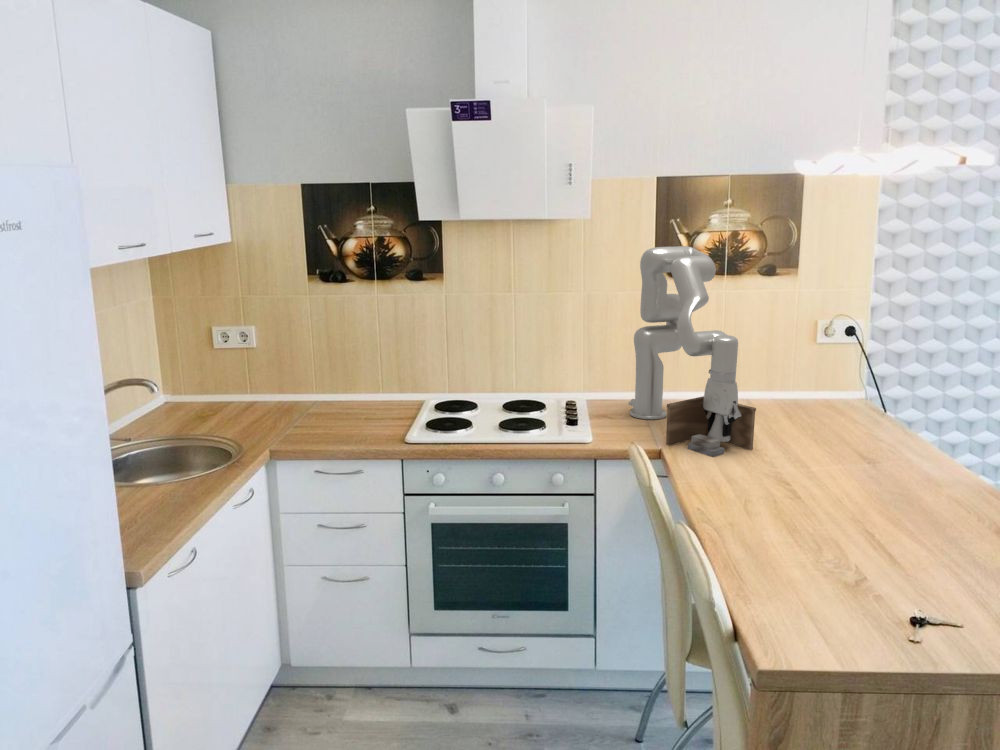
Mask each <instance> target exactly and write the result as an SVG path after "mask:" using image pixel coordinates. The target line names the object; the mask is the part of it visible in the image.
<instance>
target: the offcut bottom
mask: <svg viewBox="0 0 1000 750" xmlns="http://www.w3.org/2000/svg"><path fill="white" fill-rule="evenodd" d="M687 450H690V451H693V452H696V453H699V454H701V455H704V456H708V457H711V458H715V457H718V456H721V455H722V456H723V455H725V447H721V446H720V448H717V449H714V450H711V449H707V448H704V447H700V446H697V445H694V444H691V442H687Z"/></svg>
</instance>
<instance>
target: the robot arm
mask: <svg viewBox="0 0 1000 750" xmlns="http://www.w3.org/2000/svg"><path fill="white" fill-rule="evenodd" d="M640 257H641V258H640V261H639V262H640V264H639V268H640V275H641V292H640V293H641V294H640V311H639V312H640V317H641V320H642V321H644V322H645V323H650V324H651V323H652V324H653V323H654V324H655V323H656V324H657V323H666V324H661V325H658V324H657V325H646V326H642V327H640V328H639V329H637V330H635V333H634V335H633V345H634V352H635V386H634V387H635V388H634V390H635V392H634V393H635V394H634V398H632V399H631V400H629V401H628V405H629V406H632V409H630V411H629V414H630V416H631V417H633V418H637V419H640V420H658V419H659V420H660V419H664V418H667V411H666V410H664V409H663V395H664V392H663V390H664V362H663V361H662V359H661V357H660V356H659V354H662V353H663V354H664V353H673V352H676V351H679V350H680V349H681V348H682V349H683V351H684V352H685V354H687V355H688V356H689V357H703V356H711V359H710V369H708V374H709V375H710V376H709V378H707V381H706V384H705V389H704V395H703V396H704V401H703V403H702V404H701V407H702V408H703V410H704V412H705V414H706V415H707V416H706V417H707V419H708V430H707V431H708V432H709V431H710V429H711V427H712V425H713V422H714V420H715V416H716V413H717V414H720V415H724V420H725V424H723V437H726V436H730V435H731V429H732V423H734V421H736V420H737V419H738V418H740V417H741V413H740V412H739V410H738V404H739V389H738V383H737V382H736V378H737V366H738V364H737V363H738V353H739V351H738V350H739V341H738V338H737V337H736V336H733V335H728V334H727V333H725V332H724V331H722V330H715V329H714V330H703V331H695V330H694V327H693V323H692V314H693V313H694V312H696V311H698V310H699V309H701V308H703V307H704V306H706V304H708V302H709V300H710V297H709V294H708V292H707V289H706V286H705V283H707V282H710V281H713V279H714V278H715V277H716V276H715V275H716V271H717V270H716V265H715V262H714V260H713V259H712V258H711V257H710V256H709V255H707V254H705V253H703V252H702V251H700V250H698V249H697V248H694V247H692V246H686V245H683V246H681V245H680V246H678V245H677V246H657V247H656V246H655V247H651V248H649V249H646V250H645V251H644V252H643V254H642V255H641V256H640ZM664 273H671V276H672V280H673V283H674V285H675V288H676V292H677V293H668V281H667V278H666V276H665V274H664ZM733 414H734V416H733ZM728 416H729V419H728Z"/></svg>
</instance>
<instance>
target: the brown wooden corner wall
mask: <svg viewBox="0 0 1000 750" xmlns="http://www.w3.org/2000/svg"><path fill="white" fill-rule="evenodd" d="M703 401H704V395H703V396H699V397H694V398H690V399H684V400H679V401H675V402H670V403H667V404H666V408H667V411H666V431H665V433H666V434H665V445H667V446H672V445H677V444H681V443H684V442H689V441H691V438H692V436H694V435H698V434H701V435H704V436H708V434H709V432H708V431H707V430H708V419H707V417H706V416H707V415H706V414H705V412H704V410H703V408H702V407H701V404H702V403H703ZM738 410H739V412H740V413H741V417H740V418H738V419H737V420H736V421H734V423H732V429H731V435H730V438H731V439H730V440H729V441H728V442H725V443H726V444H730V445H733V446H737V447H740V448H742V449H745V450H749V451H752V450H753V449H754V436H755V435H754V433H755V423H756V422H755V420H756V412H757V408H756V407H754V406H750V405H746V404H742V403H738ZM733 416H734V414H733ZM728 419H729V416H728Z"/></svg>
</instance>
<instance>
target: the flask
mask: <svg viewBox="0 0 1000 750" xmlns="http://www.w3.org/2000/svg"><path fill="white" fill-rule="evenodd" d="M723 424H725V420H724V415H720V414H717V413H716V416H715V420H714V422H713V425H712V427H711V429H710V431H709V434H708V437H711V438H715V439H718V440H720V443H726V442H728V441H729V440H730V439H731V438H730V436H726V437H723Z"/></svg>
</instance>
